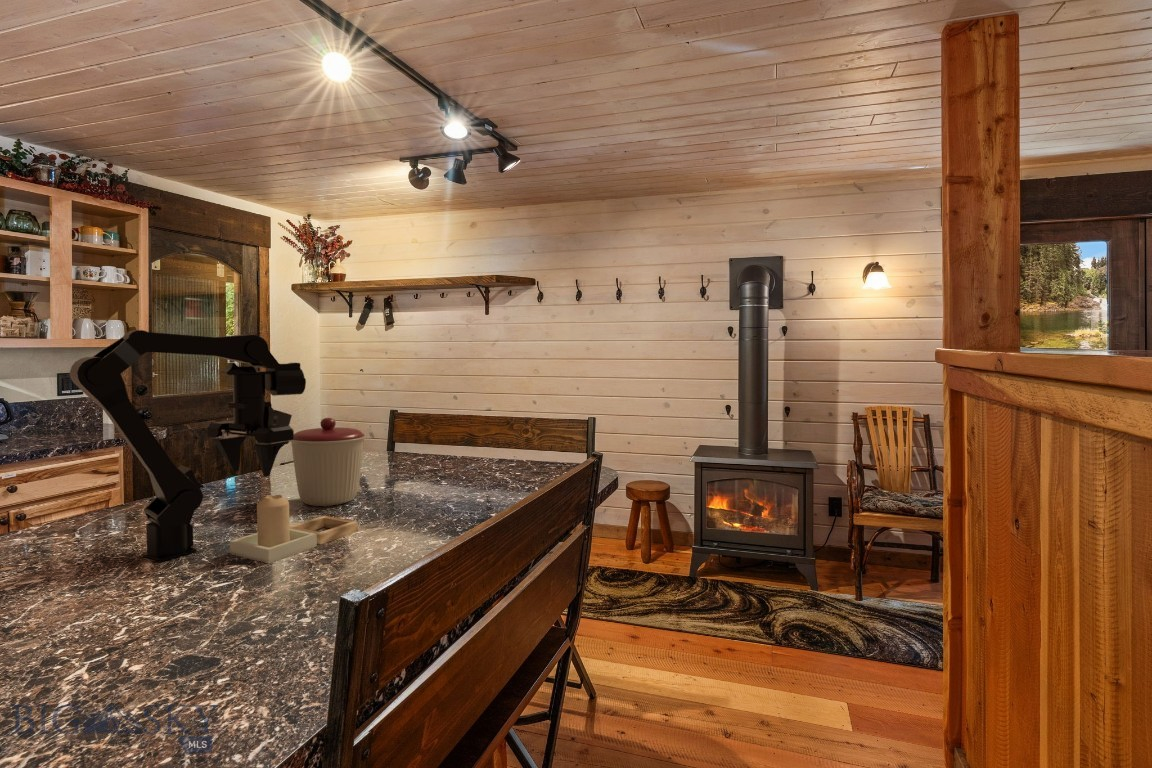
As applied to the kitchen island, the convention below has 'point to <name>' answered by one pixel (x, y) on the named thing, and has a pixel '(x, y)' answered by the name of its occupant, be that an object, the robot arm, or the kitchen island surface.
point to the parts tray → (252, 550)
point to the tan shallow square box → (338, 527)
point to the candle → (273, 521)
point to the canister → (327, 463)
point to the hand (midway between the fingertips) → (251, 473)
